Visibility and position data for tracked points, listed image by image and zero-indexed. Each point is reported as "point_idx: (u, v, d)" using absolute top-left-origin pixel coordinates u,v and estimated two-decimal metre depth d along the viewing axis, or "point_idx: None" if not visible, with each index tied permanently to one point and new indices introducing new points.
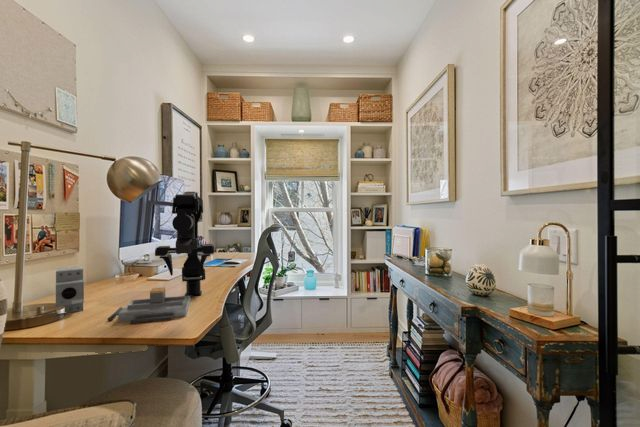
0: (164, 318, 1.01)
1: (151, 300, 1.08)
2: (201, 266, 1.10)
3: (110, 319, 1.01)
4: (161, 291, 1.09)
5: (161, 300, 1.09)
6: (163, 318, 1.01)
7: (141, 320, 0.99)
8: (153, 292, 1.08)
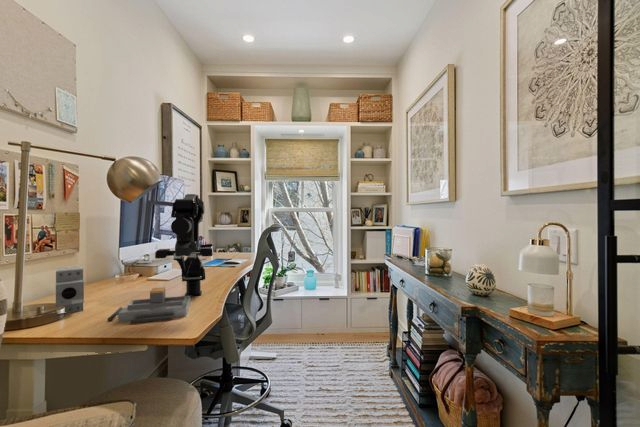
0: (164, 318, 1.01)
1: (151, 300, 1.08)
2: (187, 269, 1.12)
3: (110, 319, 1.01)
4: (161, 291, 1.09)
5: (161, 300, 1.09)
6: (163, 318, 1.01)
7: (141, 320, 0.99)
8: (153, 292, 1.08)
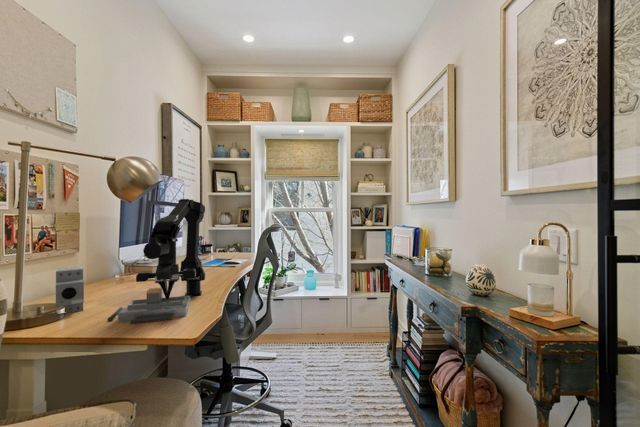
0: (164, 318, 1.01)
1: (148, 300, 1.07)
2: (169, 291, 1.11)
3: (110, 319, 1.01)
4: (158, 291, 1.08)
5: (158, 300, 1.08)
6: (163, 318, 1.01)
7: (141, 320, 0.99)
8: (150, 292, 1.07)
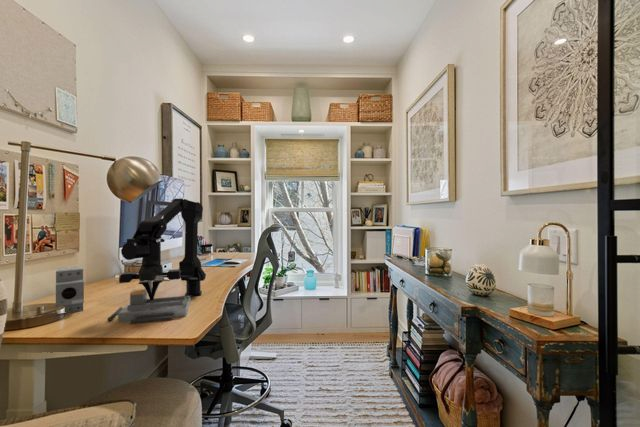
0: (164, 318, 1.01)
1: (131, 302, 1.06)
2: (153, 292, 1.09)
3: (110, 319, 1.01)
4: (142, 292, 1.07)
5: (142, 302, 1.07)
6: (163, 318, 1.01)
7: (141, 320, 0.99)
8: (133, 293, 1.06)
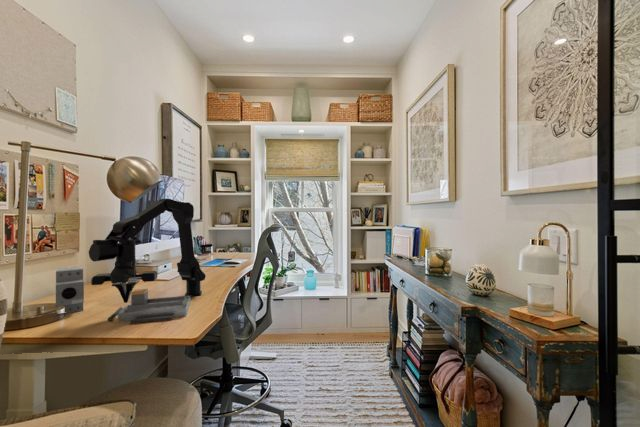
0: (164, 318, 1.01)
1: (132, 301, 1.06)
2: (127, 295, 1.07)
3: (110, 319, 1.01)
4: (143, 292, 1.07)
5: (143, 301, 1.07)
6: (163, 318, 1.01)
7: (141, 320, 0.99)
8: (134, 293, 1.06)
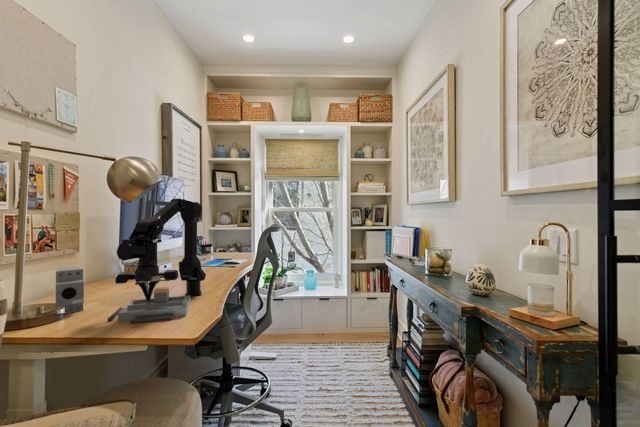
0: (164, 318, 1.01)
1: (155, 300, 1.08)
2: (149, 293, 1.09)
3: (110, 319, 1.01)
4: (165, 291, 1.09)
5: (165, 300, 1.09)
6: (163, 318, 1.01)
7: (141, 320, 0.99)
8: (157, 292, 1.08)
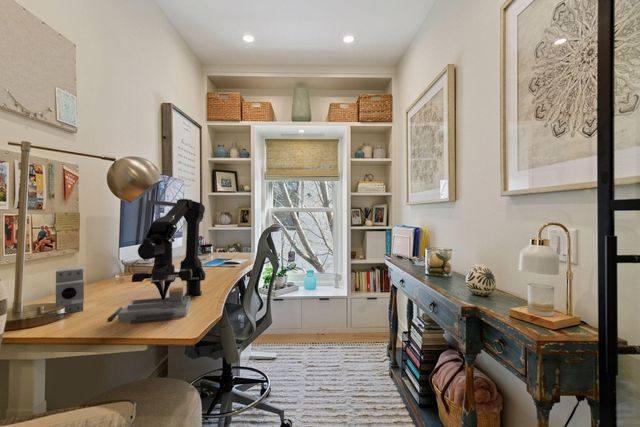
0: (164, 318, 1.01)
1: (170, 298, 1.09)
2: (165, 292, 1.10)
3: (110, 319, 1.01)
4: (180, 290, 1.10)
5: (180, 298, 1.10)
6: (163, 318, 1.01)
7: (141, 320, 0.99)
8: (172, 291, 1.10)
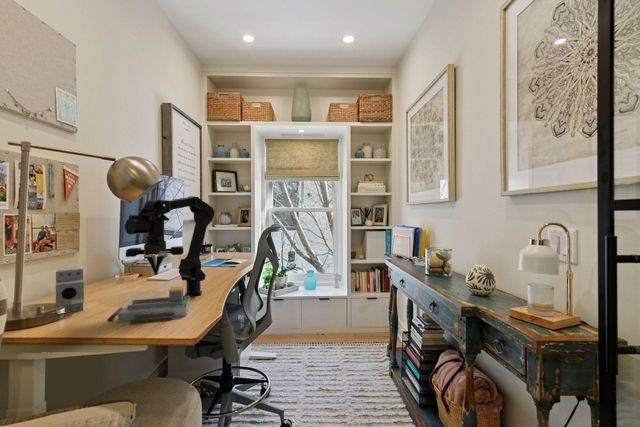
0: (164, 318, 1.01)
1: (170, 298, 1.09)
2: (157, 267, 1.17)
3: (110, 319, 1.01)
4: (180, 290, 1.10)
5: (180, 298, 1.10)
6: (163, 318, 1.01)
7: (141, 320, 0.99)
8: (172, 291, 1.10)
